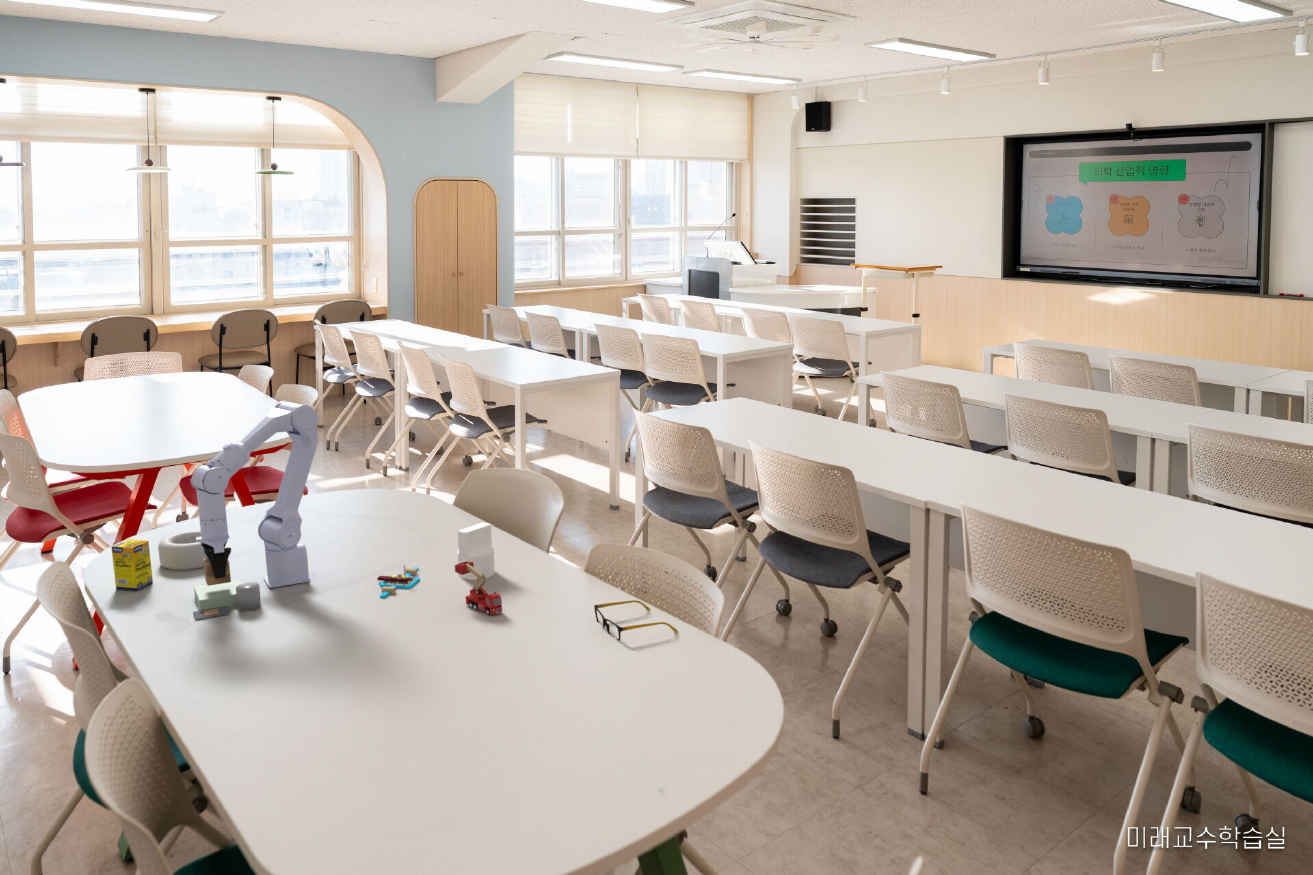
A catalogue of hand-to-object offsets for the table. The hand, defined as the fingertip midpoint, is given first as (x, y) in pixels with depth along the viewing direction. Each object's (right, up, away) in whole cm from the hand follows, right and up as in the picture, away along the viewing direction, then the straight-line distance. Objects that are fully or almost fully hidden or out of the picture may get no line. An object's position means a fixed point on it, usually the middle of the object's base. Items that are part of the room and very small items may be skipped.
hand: (218, 573), depth 240 cm
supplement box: (-25, -5, +10) cm, 27 cm away
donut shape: (-19, -1, +28) cm, 34 cm away
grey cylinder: (+8, -7, -3) cm, 11 cm away
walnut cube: (0, -2, 0) cm, 2 cm away
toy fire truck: (+61, -7, -3) cm, 62 cm away
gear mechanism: (+38, -5, +12) cm, 41 cm away
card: (+1, -8, -7) cm, 11 cm away
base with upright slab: (+56, -3, +19) cm, 60 cm away
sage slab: (0, -7, +2) cm, 7 cm away
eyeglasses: (+96, -10, -14) cm, 98 cm away
